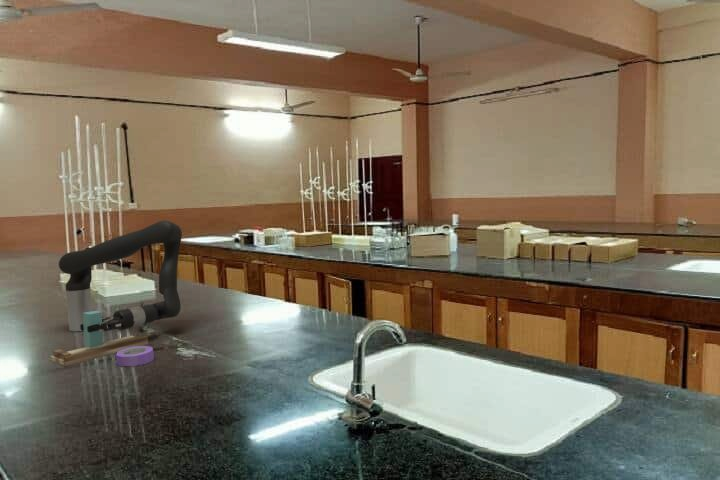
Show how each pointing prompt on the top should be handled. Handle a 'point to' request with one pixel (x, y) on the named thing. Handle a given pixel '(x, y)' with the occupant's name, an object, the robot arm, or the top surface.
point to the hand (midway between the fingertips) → (84, 328)
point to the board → (96, 350)
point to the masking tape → (135, 356)
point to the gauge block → (94, 337)
